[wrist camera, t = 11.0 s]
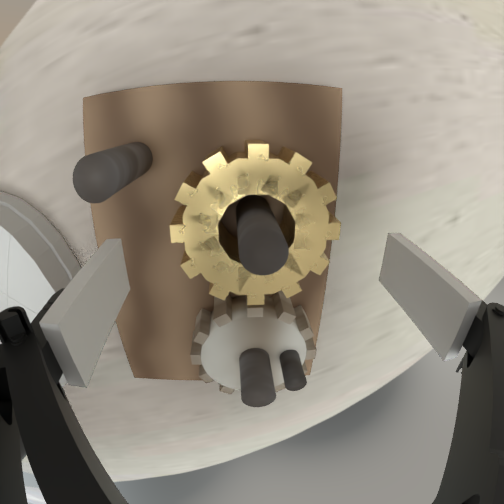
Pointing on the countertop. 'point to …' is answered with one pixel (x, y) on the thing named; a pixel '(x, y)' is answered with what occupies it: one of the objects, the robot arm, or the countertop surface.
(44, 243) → the dish
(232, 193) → the brass gear
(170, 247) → the gear board
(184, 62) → the countertop surface
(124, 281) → the robot arm
